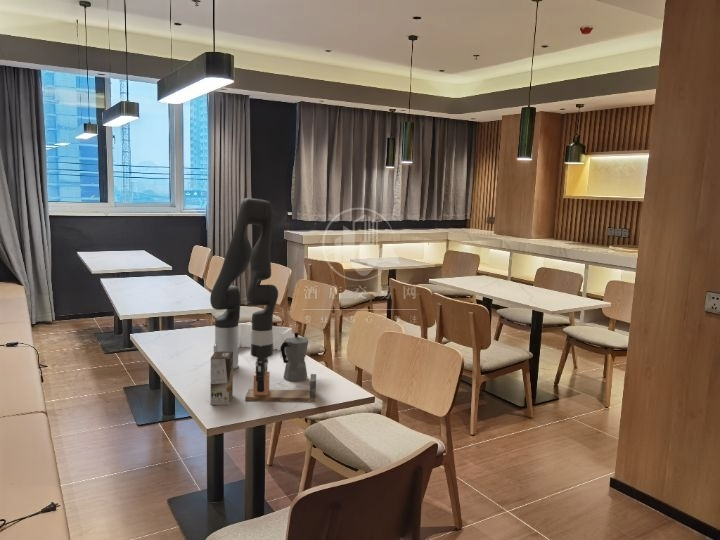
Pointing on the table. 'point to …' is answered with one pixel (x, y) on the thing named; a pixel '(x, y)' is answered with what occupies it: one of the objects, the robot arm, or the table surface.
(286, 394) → the rail
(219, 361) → the coffee box
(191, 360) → the table surface
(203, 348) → the table surface
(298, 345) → the coffeepot
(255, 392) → the tan tall block
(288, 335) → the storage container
